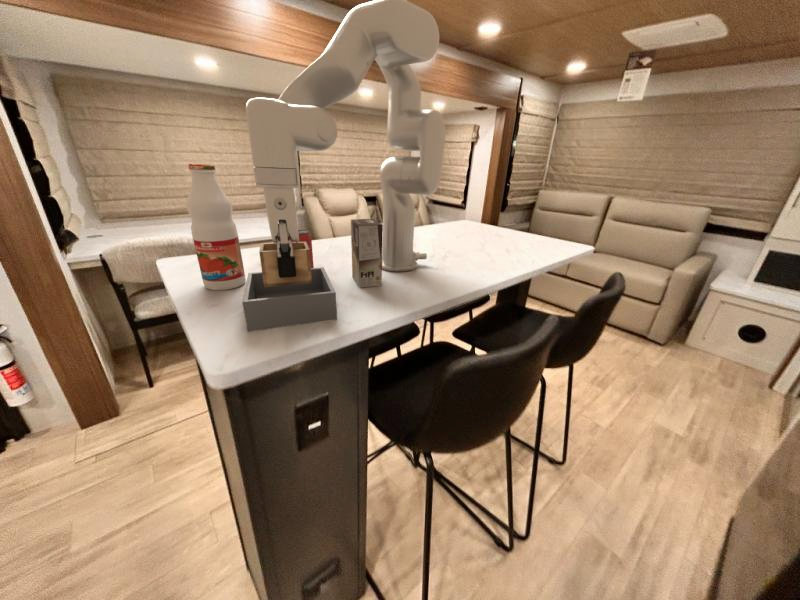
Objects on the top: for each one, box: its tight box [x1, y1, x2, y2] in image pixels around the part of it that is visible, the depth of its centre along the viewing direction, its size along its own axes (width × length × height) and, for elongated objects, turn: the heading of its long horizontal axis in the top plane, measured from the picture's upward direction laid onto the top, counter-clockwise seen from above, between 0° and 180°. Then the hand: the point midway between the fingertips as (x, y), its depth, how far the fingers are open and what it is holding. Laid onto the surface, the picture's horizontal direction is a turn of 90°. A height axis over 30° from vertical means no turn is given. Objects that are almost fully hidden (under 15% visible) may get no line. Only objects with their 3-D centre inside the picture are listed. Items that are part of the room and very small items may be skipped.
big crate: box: [242, 267, 338, 332], centre depth 66 cm, size 17×17×6 cm
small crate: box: [258, 242, 312, 287], centre depth 63 cm, size 9×7×7 cm
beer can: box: [291, 228, 315, 268], centre depth 86 cm, size 7×7×12 cm
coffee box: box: [350, 218, 383, 289], centre depth 81 cm, size 9×6×16 cm
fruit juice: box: [185, 163, 246, 291], centre depth 73 cm, size 9×9×28 cm
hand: (286, 270), depth 64 cm, fingers closed on small crate, 7 cm apart
